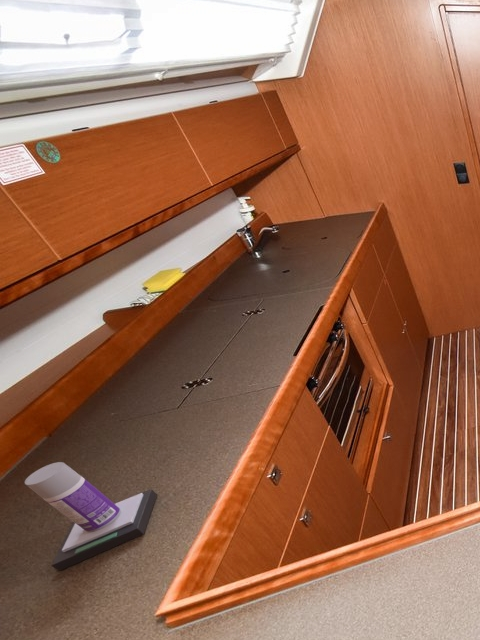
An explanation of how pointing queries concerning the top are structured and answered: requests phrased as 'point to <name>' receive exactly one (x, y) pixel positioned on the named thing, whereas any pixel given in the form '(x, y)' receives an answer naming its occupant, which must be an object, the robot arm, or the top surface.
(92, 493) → the container
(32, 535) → the top surface
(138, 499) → the scale
